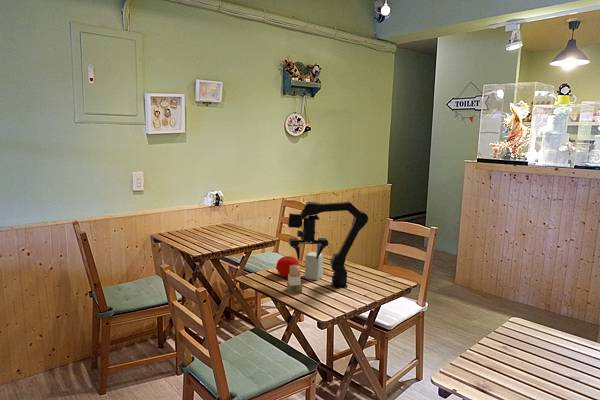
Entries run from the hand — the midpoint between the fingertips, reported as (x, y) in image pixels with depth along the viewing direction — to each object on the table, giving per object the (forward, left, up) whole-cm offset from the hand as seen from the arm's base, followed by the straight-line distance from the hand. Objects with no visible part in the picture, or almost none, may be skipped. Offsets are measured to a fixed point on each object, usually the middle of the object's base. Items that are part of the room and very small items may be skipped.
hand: (307, 259), depth 205 cm
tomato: (+7, -14, -13) cm, 21 cm away
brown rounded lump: (+8, +8, -5) cm, 13 cm away
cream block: (+8, +8, -9) cm, 15 cm away
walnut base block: (+8, +8, -13) cm, 17 cm away
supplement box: (-6, -10, -13) cm, 18 cm away
